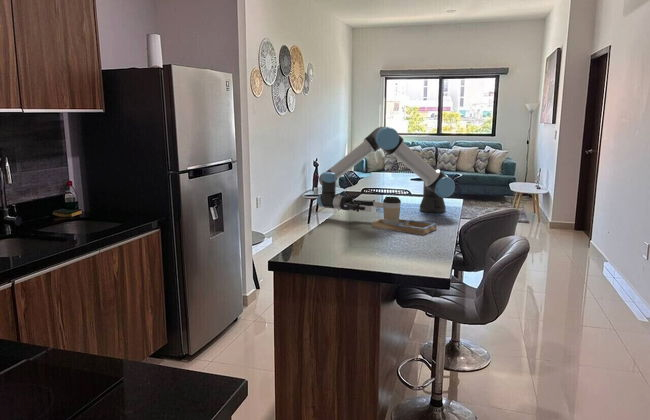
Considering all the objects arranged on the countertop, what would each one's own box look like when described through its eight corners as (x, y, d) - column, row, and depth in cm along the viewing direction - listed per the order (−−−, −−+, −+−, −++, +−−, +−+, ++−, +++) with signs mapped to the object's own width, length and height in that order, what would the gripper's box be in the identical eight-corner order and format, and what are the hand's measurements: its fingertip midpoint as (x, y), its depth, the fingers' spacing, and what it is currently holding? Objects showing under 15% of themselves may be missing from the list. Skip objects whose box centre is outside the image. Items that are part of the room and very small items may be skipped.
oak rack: (386, 221, 255) (386, 216, 254) (436, 229, 239) (436, 223, 238) (371, 226, 243) (371, 221, 243) (423, 234, 227) (423, 228, 226)
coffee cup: (401, 225, 248) (402, 196, 245) (398, 228, 239) (399, 198, 237) (384, 223, 251) (385, 195, 248) (380, 227, 242) (381, 197, 239)
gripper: (355, 206, 271) (389, 210, 258) (329, 213, 251) (364, 218, 238) (356, 193, 269) (389, 196, 257) (329, 198, 249) (365, 203, 237)
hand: (377, 207), depth 248 cm, fingers open, 13 cm apart
